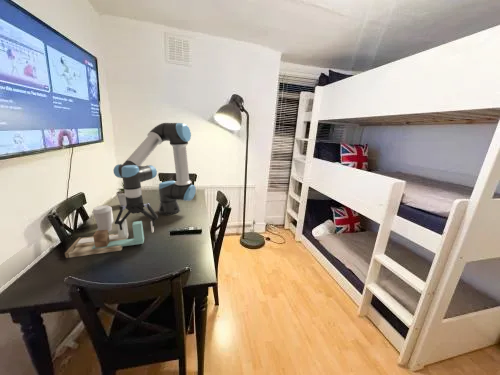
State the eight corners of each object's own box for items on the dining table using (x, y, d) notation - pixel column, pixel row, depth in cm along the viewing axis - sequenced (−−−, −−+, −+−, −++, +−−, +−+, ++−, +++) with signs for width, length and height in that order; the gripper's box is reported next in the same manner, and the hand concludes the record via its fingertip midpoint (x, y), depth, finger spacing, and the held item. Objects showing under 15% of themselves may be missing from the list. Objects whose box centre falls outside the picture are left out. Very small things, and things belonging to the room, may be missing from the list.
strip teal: (144, 239, 118) (142, 220, 115) (143, 243, 113) (140, 224, 110) (95, 245, 110) (92, 225, 107) (92, 250, 106) (88, 230, 103)
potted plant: (140, 204, 173) (137, 181, 168) (123, 209, 162) (119, 184, 157) (132, 201, 180) (129, 178, 174) (115, 206, 168) (111, 181, 163)
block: (109, 241, 112) (107, 229, 110) (107, 246, 107) (104, 233, 106) (98, 242, 110) (96, 230, 109) (95, 247, 106) (93, 235, 104)
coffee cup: (94, 235, 122) (90, 211, 118) (97, 228, 131) (93, 206, 127) (114, 232, 127) (110, 209, 123) (115, 226, 135) (111, 203, 131)
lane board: (127, 235, 123) (127, 231, 122) (121, 250, 108) (120, 245, 108) (79, 241, 116) (78, 237, 115) (65, 258, 101) (64, 253, 100)
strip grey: (128, 235, 121) (126, 217, 118) (127, 239, 117) (124, 220, 114) (80, 240, 114) (76, 221, 111) (77, 245, 110) (72, 225, 107)
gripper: (160, 191, 115) (164, 227, 121) (107, 195, 107) (114, 233, 113) (159, 195, 108) (163, 233, 114) (103, 200, 100) (110, 240, 106)
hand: (139, 233), depth 114 cm, fingers open, 13 cm apart
